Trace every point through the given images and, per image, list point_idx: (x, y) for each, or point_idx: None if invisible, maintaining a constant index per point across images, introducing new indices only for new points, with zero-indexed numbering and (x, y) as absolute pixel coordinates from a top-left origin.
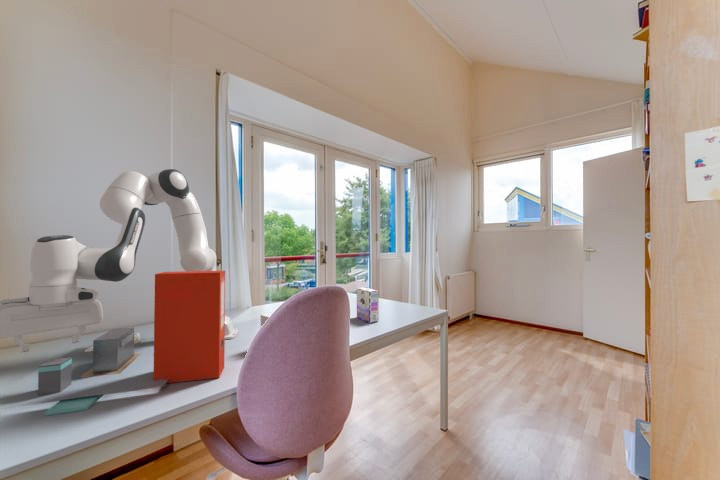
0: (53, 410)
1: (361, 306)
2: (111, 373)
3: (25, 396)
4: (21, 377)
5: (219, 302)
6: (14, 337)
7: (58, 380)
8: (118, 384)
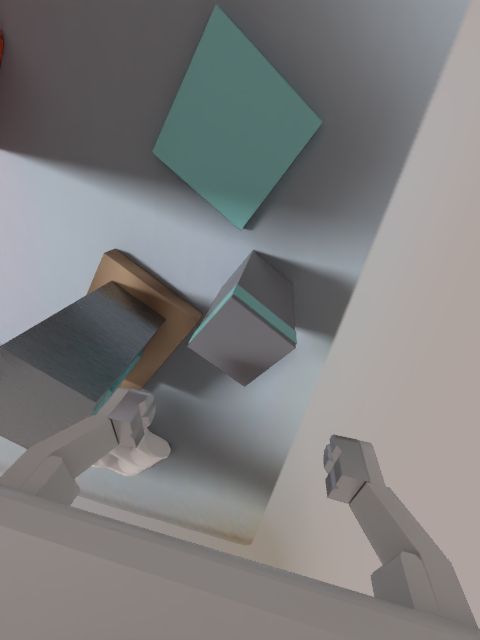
0: (302, 109)
1: None
2: (125, 275)
3: (299, 340)
4: (271, 439)
5: None
6: (468, 606)
7: (249, 273)
8: (119, 195)
